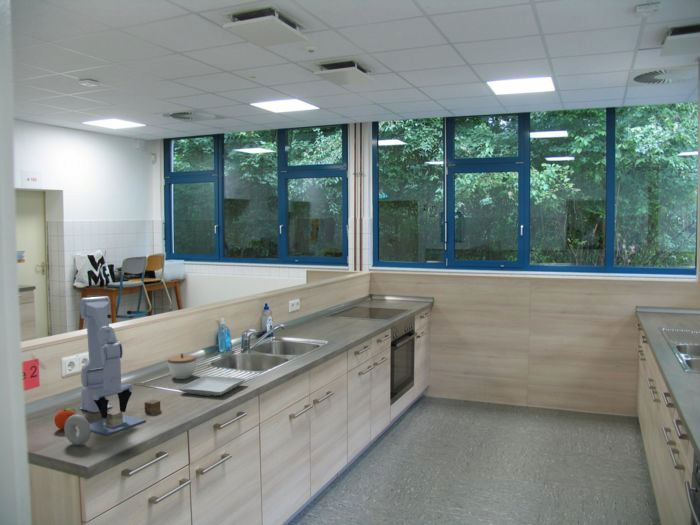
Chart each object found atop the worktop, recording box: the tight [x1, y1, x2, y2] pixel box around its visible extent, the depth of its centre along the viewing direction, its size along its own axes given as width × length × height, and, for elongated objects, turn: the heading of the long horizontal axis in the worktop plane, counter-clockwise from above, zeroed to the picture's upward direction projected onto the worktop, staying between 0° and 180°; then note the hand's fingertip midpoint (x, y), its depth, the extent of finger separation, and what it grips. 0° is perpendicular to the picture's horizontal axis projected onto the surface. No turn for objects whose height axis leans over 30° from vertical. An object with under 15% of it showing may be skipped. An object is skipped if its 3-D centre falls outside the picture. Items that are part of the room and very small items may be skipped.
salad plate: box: [177, 375, 246, 397], centre depth 248 cm, size 21×21×3 cm
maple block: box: [105, 409, 124, 426], centre depth 205 cm, size 4×4×4 cm
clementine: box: [54, 407, 77, 430], centre depth 202 cm, size 8×7×7 cm
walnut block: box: [144, 399, 161, 415], centre depth 219 cm, size 4×4×4 cm
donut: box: [64, 413, 92, 446], centre depth 186 cm, size 10×4×10 cm, turn 67°
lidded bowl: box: [167, 353, 197, 380], centre depth 270 cm, size 13×13×11 cm
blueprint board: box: [89, 413, 147, 437], centre depth 205 cm, size 14×16×1 cm
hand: (113, 414), depth 205 cm, fingers open, 7 cm apart
